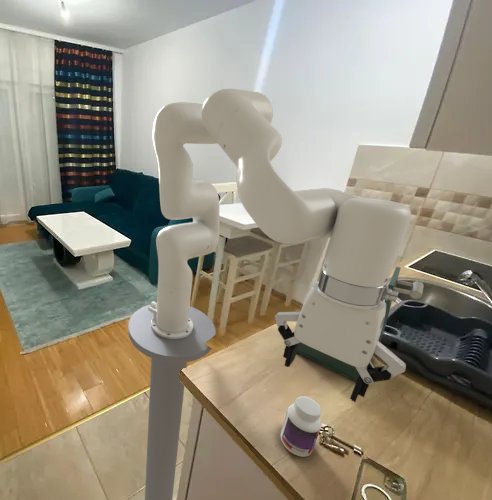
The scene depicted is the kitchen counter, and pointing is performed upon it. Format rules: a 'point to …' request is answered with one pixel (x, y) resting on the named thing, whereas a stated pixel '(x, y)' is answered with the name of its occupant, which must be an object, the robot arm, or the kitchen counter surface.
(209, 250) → the robot arm
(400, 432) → the kitchen counter surface
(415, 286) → the box lid
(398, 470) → the kitchen counter surface
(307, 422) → the pill bottle
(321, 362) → the green open box
